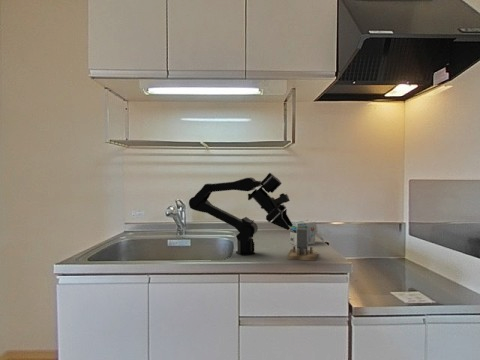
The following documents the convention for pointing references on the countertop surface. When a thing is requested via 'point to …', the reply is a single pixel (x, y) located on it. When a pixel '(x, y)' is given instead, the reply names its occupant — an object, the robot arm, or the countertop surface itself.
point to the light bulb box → (302, 224)
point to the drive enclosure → (302, 239)
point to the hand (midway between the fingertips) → (290, 227)
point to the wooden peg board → (297, 256)
